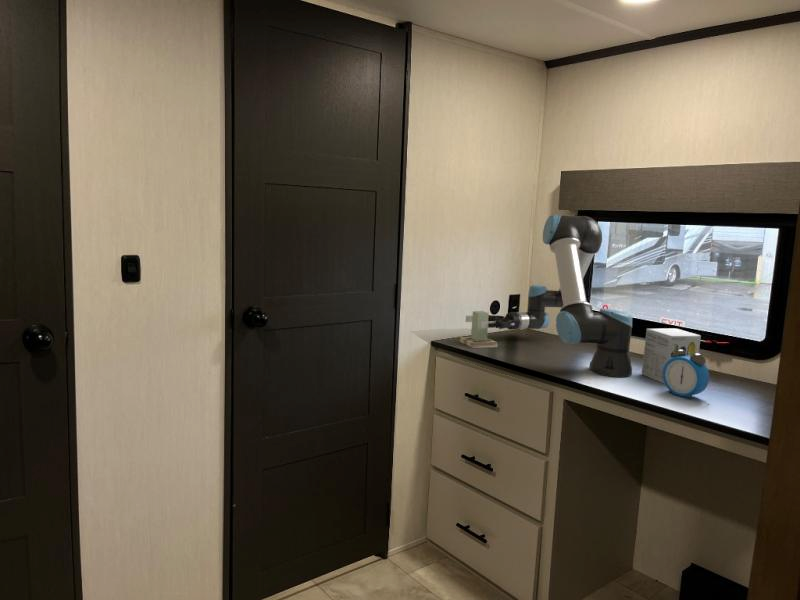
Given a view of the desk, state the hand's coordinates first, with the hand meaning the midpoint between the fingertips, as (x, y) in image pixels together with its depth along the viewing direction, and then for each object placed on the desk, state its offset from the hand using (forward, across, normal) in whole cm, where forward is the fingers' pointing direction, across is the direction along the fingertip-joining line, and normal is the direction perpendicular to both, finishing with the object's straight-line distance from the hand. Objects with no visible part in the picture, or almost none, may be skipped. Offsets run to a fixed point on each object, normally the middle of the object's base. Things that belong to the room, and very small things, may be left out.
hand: (473, 321), depth 260 cm
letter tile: (-3, 0, -10) cm, 11 cm away
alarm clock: (-37, -80, -10) cm, 89 cm away
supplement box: (-48, -62, -10) cm, 79 cm away
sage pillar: (-3, 0, -8) cm, 9 cm away
